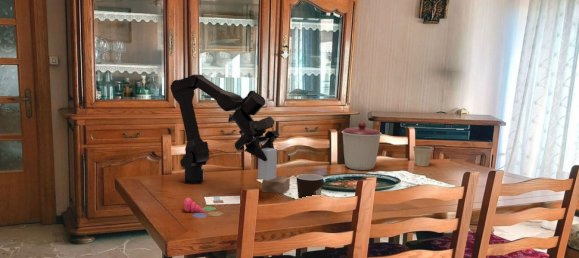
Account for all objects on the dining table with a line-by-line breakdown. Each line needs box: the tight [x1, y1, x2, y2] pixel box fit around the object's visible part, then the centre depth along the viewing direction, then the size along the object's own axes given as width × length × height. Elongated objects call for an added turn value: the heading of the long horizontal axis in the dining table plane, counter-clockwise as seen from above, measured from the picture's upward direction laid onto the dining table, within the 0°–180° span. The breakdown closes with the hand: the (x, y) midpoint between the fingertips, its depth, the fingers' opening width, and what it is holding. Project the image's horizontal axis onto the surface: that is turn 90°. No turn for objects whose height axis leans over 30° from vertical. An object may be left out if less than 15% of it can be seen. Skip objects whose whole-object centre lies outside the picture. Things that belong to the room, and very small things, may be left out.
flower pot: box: [412, 145, 434, 167], centre depth 235 cm, size 9×9×9 cm
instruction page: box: [204, 195, 241, 206], centre depth 164 cm, size 12×9×1 cm
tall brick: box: [257, 148, 278, 181], centre depth 167 cm, size 4×5×10 cm
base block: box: [261, 176, 291, 195], centre depth 180 cm, size 8×8×4 cm
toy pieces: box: [182, 197, 224, 218], centre depth 150 cm, size 12×11×4 cm
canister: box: [341, 121, 383, 171], centre depth 223 cm, size 18×18×21 cm
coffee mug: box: [296, 173, 325, 199], centre depth 159 cm, size 12×9×10 cm
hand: (271, 159), depth 166 cm, fingers closed on tall brick, 5 cm apart
